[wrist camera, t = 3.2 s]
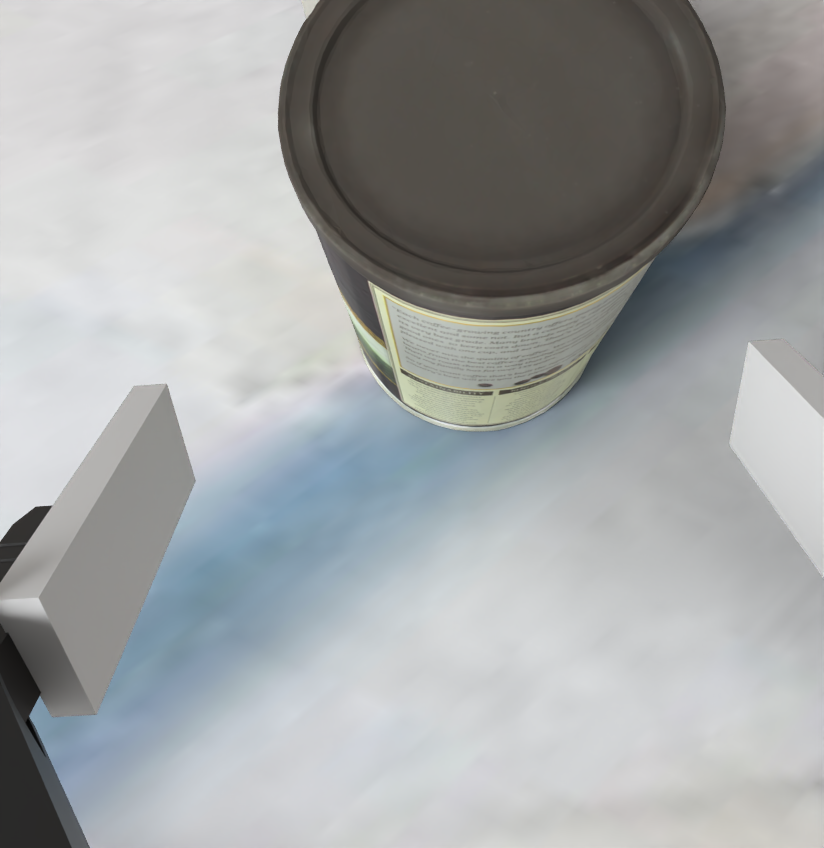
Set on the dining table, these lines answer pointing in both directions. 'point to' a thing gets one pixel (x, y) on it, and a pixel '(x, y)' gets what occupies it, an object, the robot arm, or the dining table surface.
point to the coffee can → (495, 181)
